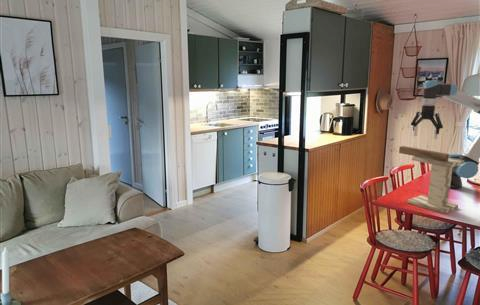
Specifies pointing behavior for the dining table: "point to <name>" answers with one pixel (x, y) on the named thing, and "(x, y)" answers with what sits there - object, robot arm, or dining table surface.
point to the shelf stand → (437, 186)
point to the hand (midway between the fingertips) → (425, 137)
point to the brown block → (424, 153)
